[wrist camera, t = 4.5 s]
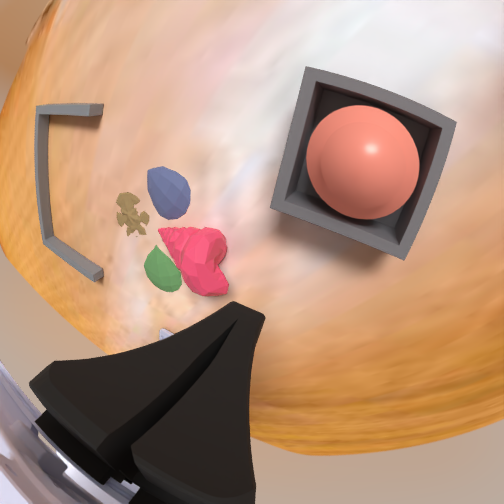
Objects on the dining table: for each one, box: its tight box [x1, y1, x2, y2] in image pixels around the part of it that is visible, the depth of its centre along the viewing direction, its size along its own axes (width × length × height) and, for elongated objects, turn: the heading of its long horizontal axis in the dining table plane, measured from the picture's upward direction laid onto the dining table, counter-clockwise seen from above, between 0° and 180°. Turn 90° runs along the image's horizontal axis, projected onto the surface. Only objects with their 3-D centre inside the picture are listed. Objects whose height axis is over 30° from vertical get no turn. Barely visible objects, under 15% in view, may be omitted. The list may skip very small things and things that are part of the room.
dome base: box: [270, 67, 457, 260], centre depth 12 cm, size 8×8×3 cm
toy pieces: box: [116, 166, 229, 296], centre depth 19 cm, size 12×11×4 cm
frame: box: [35, 103, 104, 282], centre depth 23 cm, size 18×12×2 cm, turn 167°
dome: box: [306, 105, 419, 219], centre depth 11 cm, size 5×5×3 cm
